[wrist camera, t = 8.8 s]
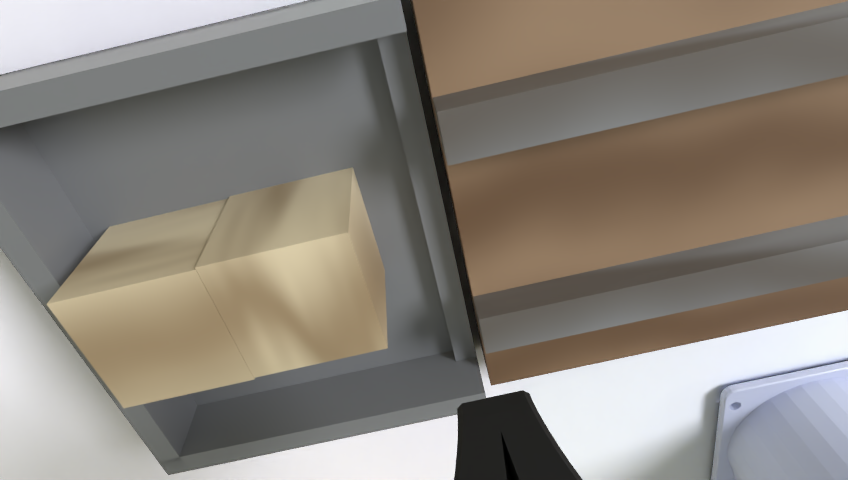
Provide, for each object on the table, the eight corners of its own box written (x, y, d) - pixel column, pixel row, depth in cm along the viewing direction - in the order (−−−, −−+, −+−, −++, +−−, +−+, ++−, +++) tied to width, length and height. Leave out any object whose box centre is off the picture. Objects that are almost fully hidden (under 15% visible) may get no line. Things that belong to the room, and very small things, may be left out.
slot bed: (828, 274, 22) (893, 327, 19) (481, 349, 22) (497, 410, 20) (923, -149, 15) (1050, -161, 12) (405, -23, 15) (412, -8, 12)
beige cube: (274, 296, 19) (254, 379, 16) (166, 320, 20) (123, 408, 16) (230, 198, 17) (196, 270, 14) (109, 226, 18) (46, 304, 14)
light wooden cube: (387, 348, 16) (254, 377, 16) (384, 269, 19) (274, 295, 19) (348, 231, 14) (194, 267, 14) (352, 167, 17) (229, 196, 17)
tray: (474, 350, 22) (488, 407, 20) (190, 411, 23) (168, 475, 20) (394, -21, 15) (399, -6, 13) (-21, 80, 16) (-98, 114, 13)
